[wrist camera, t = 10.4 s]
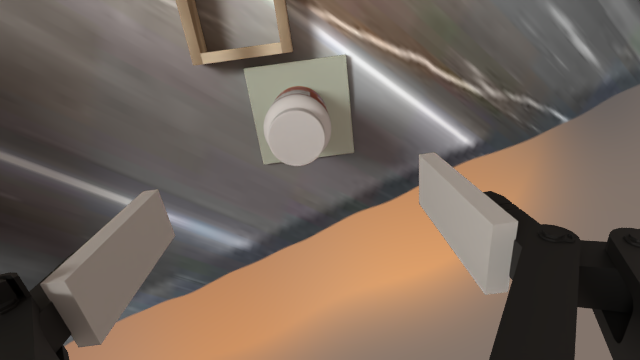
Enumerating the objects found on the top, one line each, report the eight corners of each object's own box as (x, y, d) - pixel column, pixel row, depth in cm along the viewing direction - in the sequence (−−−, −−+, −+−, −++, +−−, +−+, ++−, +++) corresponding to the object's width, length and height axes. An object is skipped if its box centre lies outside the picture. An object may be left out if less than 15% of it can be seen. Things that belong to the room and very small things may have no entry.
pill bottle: (328, 137, 37) (336, 172, 27) (275, 141, 37) (264, 178, 26) (325, 82, 34) (333, 98, 24) (268, 86, 34) (252, 103, 24)
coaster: (264, 162, 38) (263, 164, 38) (244, 68, 34) (243, 68, 33) (353, 151, 38) (354, 152, 38) (345, 54, 34) (345, 54, 33)
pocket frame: (201, 64, 34) (193, 65, 31) (172, -48, 30) (160, -56, 27) (293, 51, 33) (292, 51, 31) (276, -63, 30) (273, -72, 27)
